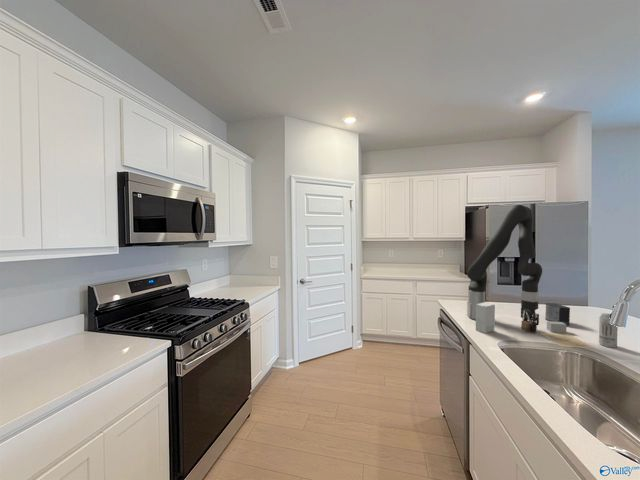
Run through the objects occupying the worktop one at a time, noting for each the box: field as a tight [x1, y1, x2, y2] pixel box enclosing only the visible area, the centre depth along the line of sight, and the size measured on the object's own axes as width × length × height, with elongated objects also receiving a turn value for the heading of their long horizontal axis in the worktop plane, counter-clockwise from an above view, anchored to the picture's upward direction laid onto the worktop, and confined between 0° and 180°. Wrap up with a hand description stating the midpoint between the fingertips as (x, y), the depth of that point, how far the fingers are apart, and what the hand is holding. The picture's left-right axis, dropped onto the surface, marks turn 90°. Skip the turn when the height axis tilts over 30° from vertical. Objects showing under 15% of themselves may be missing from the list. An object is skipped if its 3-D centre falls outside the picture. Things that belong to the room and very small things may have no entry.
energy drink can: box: [598, 312, 618, 349], centre depth 132 cm, size 6×6×15 cm
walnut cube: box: [521, 320, 538, 334], centre depth 152 cm, size 5×5×5 cm
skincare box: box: [475, 301, 496, 334], centre depth 153 cm, size 8×6×15 cm
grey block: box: [546, 320, 567, 334], centre depth 151 cm, size 7×4×5 cm, turn 77°
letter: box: [539, 332, 596, 350], centre depth 139 cm, size 14×18×1 cm
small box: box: [545, 302, 571, 326], centre depth 166 cm, size 11×6×10 cm, turn 179°
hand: (529, 329), depth 152 cm, fingers open, 7 cm apart
